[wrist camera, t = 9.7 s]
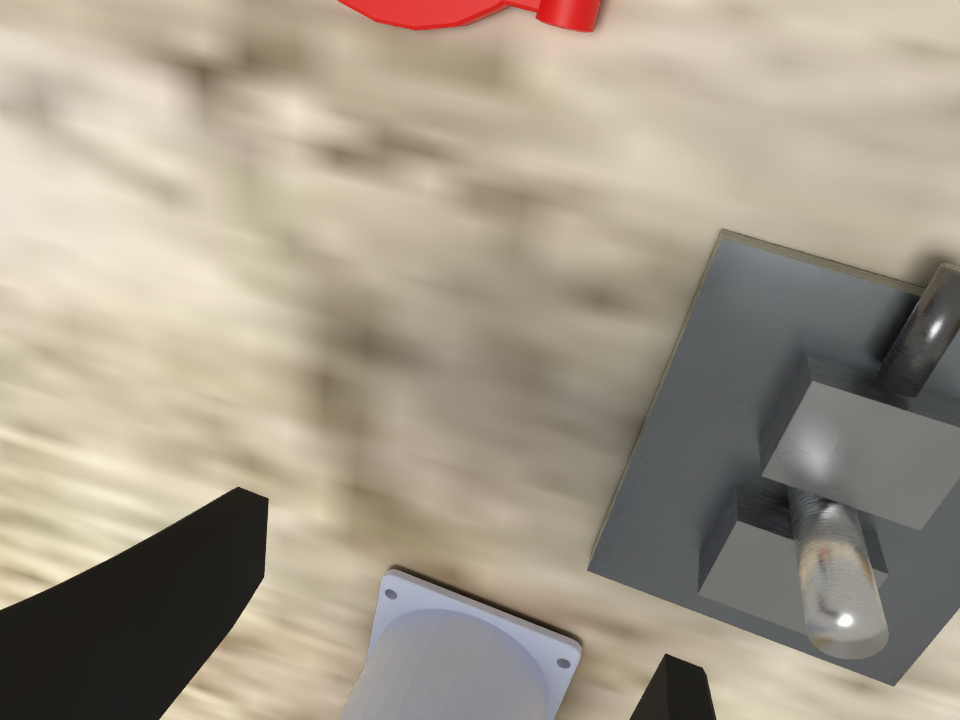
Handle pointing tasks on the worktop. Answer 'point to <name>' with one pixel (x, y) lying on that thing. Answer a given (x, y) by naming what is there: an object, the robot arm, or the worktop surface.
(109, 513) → the worktop surface
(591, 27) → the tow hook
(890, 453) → the vise
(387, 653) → the robot arm
